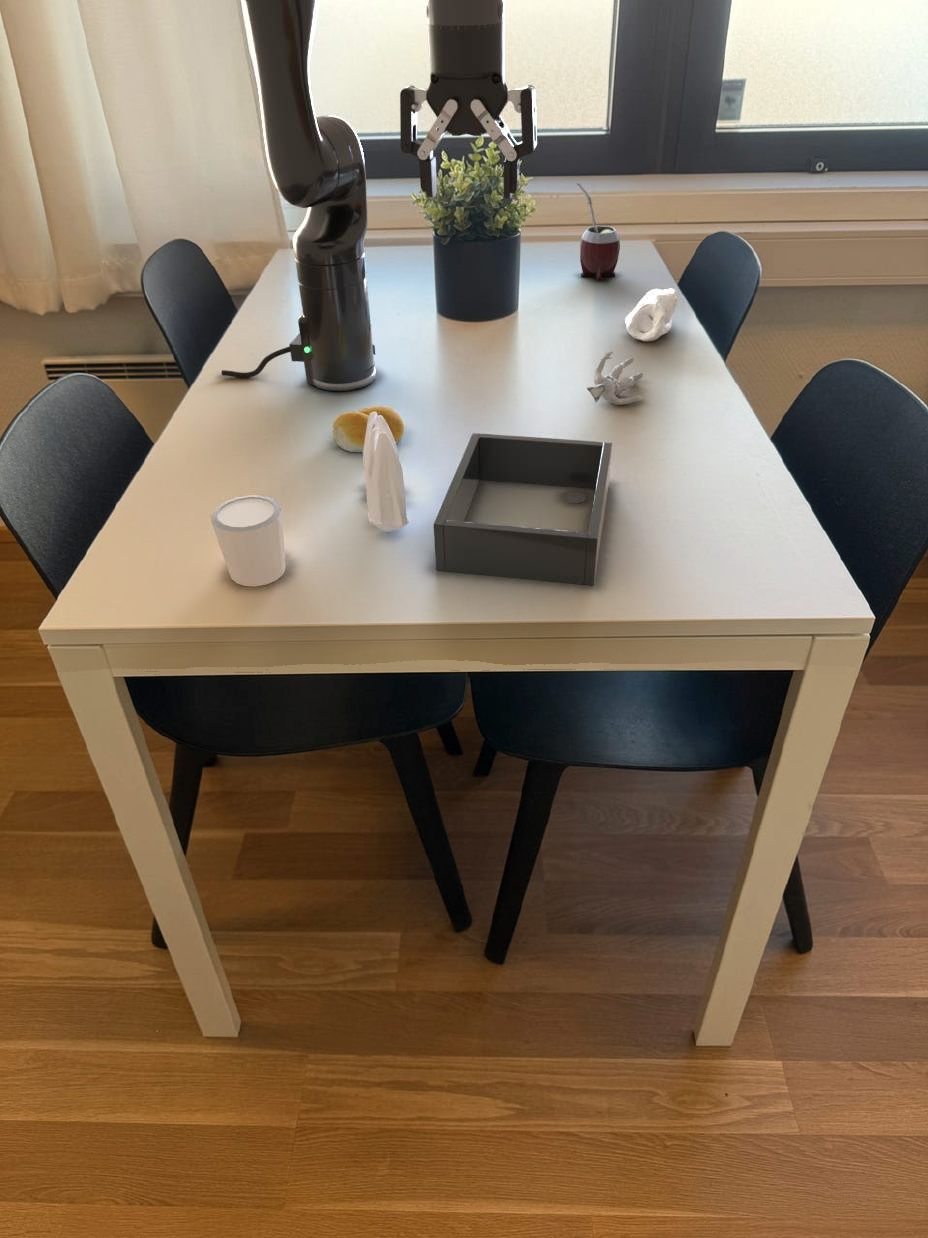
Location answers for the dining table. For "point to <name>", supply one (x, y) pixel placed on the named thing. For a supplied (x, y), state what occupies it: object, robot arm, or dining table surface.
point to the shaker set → (383, 477)
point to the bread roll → (363, 427)
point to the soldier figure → (613, 383)
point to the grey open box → (524, 546)
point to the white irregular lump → (652, 315)
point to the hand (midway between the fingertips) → (469, 196)
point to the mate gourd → (598, 248)
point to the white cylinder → (251, 539)
